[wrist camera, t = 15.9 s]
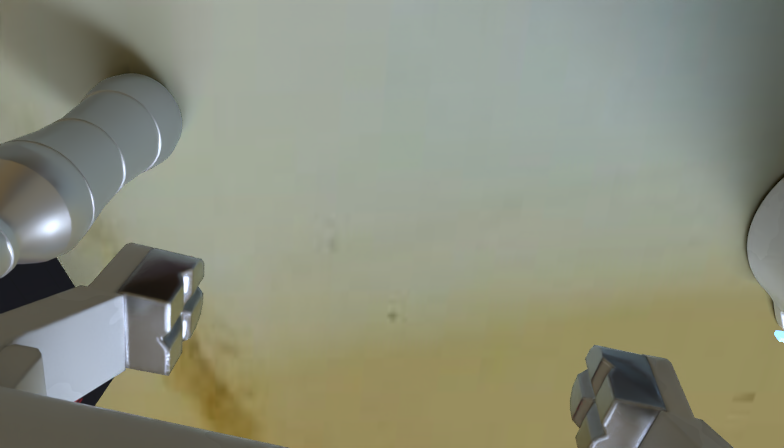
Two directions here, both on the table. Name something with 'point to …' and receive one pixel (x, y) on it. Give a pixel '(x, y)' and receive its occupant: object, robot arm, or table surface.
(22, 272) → the product box
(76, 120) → the plastic bottle
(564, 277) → the table surface
